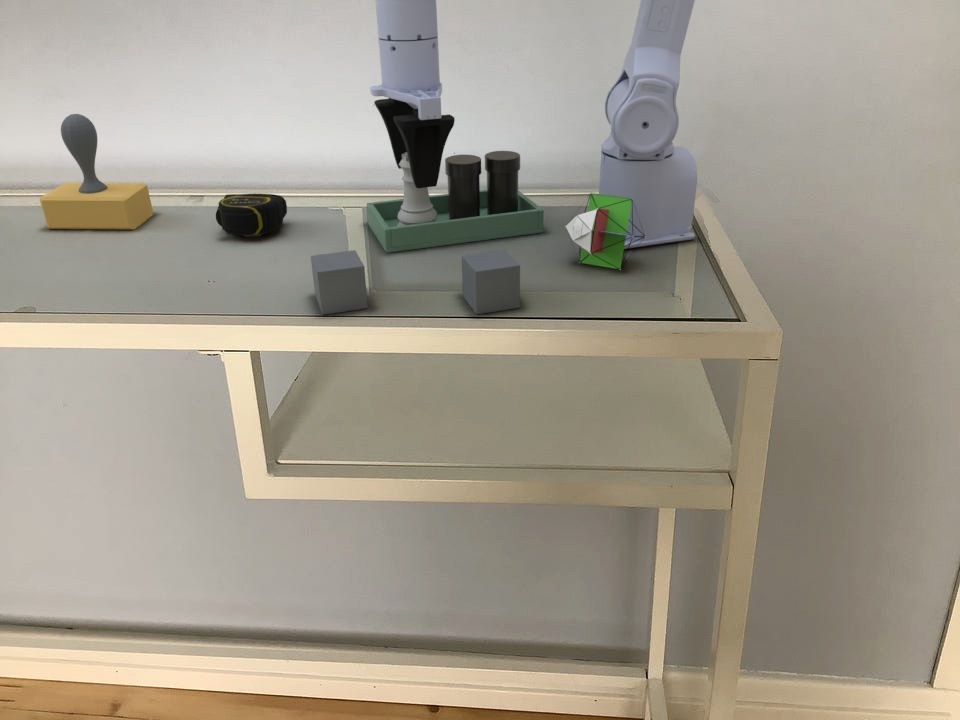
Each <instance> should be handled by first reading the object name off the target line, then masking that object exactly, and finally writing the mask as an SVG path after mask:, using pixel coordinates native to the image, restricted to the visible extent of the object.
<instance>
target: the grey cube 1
mask: <svg viewBox="0 0 960 720" xmlns="http://www.w3.org/2000/svg"><path fill="white" fill-rule="evenodd" d="M310 263H311V272H312V278H313V284H314V285H313V287H314V295H315V299H316V302H317V305H318V307H319V310H320V313H321V315H322V316H324V315H333V314H338V313H345V312H352V311H357V310H366V309H368V308H369V305H368V304H369V303H368V294H367V284H366V282H367V281H366V271H365V265H364V263H363V262H362V259H361V258H360V256H359V254H358V252H357V251H356V249H353V250H352V249H351V250H346V251H338V252H331V253H322V254H315V255H310Z"/></svg>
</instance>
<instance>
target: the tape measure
mask: <svg viewBox="0 0 960 720" xmlns="http://www.w3.org/2000/svg"><path fill="white" fill-rule="evenodd" d="M287 213H288V205H287V200H286V199H285V198H284V197H283V196H282V195H279V194H273V193H233V194H232V193H231V194H225V196H224V198H222V199H220V200H219V202H218V206H217V209H216V212H215V220H216V223H217V224H218V225H219V226H220V227H221V228H222V230H223V232H225V233H226V234H229V235H232V236H233V235H234V236H243V237H244V238H245V237H247V238H249V237H262V235H264V234H268V233H272V232H275V231H277V230H278V229H280V228H281V226H282V225H283V223H284V218H285V217H286V216H287Z"/></svg>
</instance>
